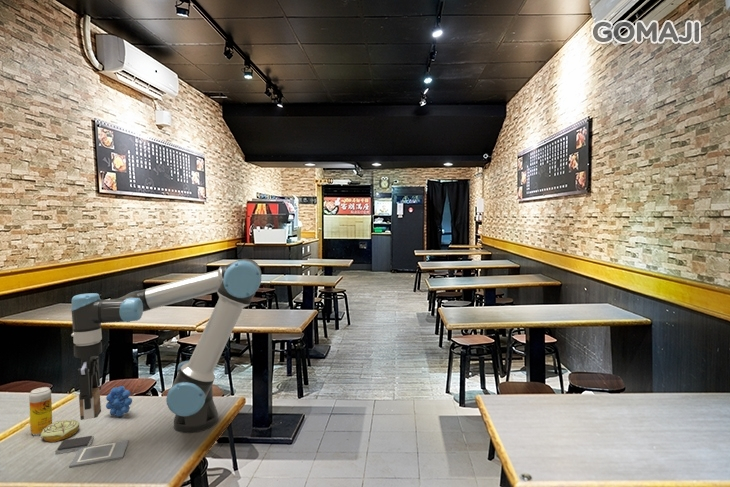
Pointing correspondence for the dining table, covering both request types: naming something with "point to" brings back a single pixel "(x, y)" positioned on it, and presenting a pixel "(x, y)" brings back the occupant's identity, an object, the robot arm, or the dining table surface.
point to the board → (99, 453)
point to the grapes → (118, 401)
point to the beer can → (40, 409)
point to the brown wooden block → (96, 403)
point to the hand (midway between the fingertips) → (91, 414)
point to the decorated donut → (60, 430)
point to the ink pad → (74, 444)
